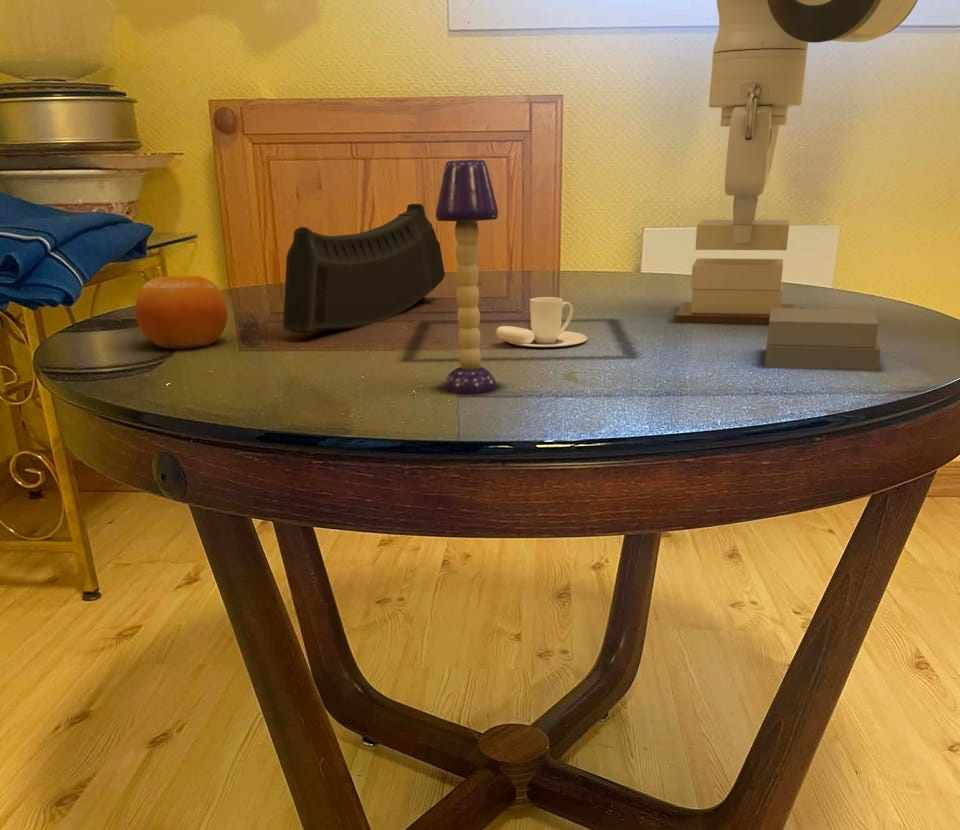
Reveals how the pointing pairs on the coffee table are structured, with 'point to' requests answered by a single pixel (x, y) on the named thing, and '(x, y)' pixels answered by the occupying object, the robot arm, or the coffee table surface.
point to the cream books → (733, 291)
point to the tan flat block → (762, 238)
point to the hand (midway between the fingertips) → (742, 239)
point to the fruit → (181, 311)
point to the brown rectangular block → (822, 339)
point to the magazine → (360, 273)
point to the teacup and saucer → (543, 325)
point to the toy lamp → (467, 264)
